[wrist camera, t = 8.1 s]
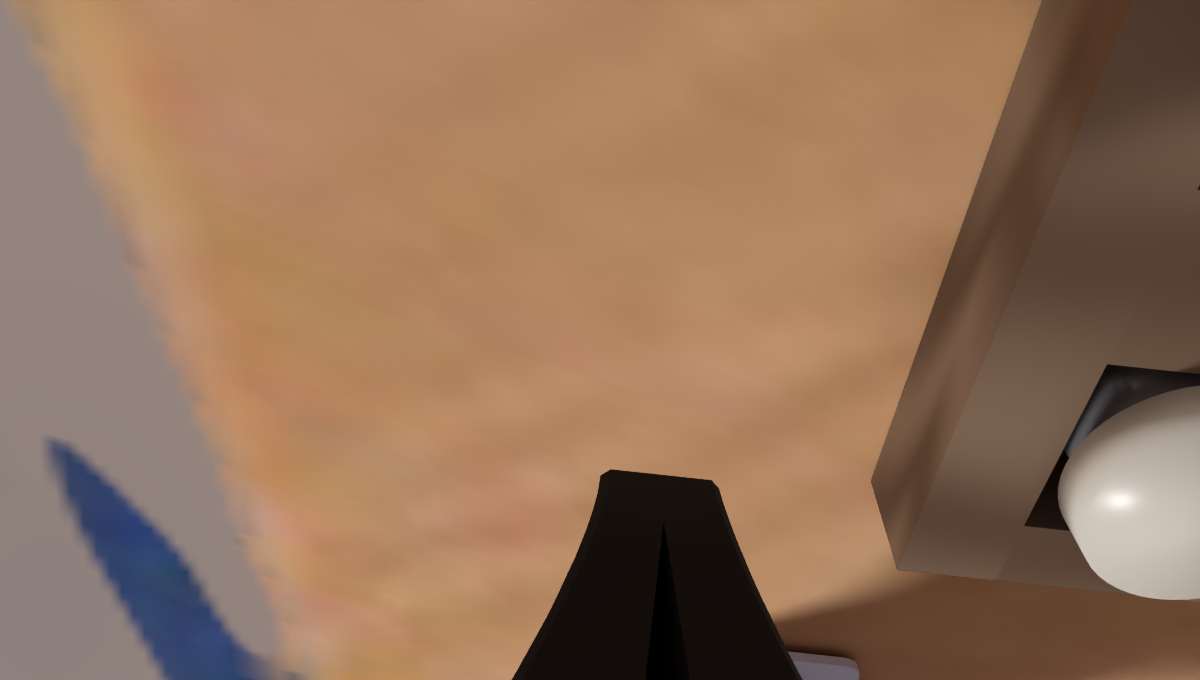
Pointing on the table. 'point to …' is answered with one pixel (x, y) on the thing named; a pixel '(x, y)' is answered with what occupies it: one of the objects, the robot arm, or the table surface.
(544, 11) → the table surface
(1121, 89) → the knob mount
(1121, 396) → the knob
